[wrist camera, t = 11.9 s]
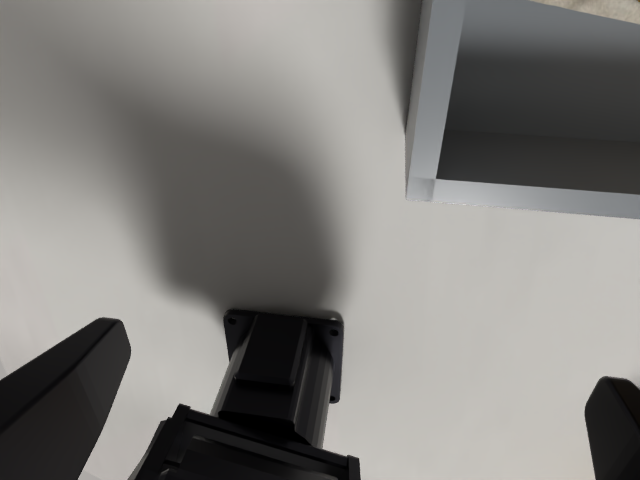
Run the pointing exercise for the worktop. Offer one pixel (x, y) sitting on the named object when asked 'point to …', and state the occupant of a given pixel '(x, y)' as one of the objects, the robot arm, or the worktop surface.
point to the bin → (524, 109)
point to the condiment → (602, 8)
